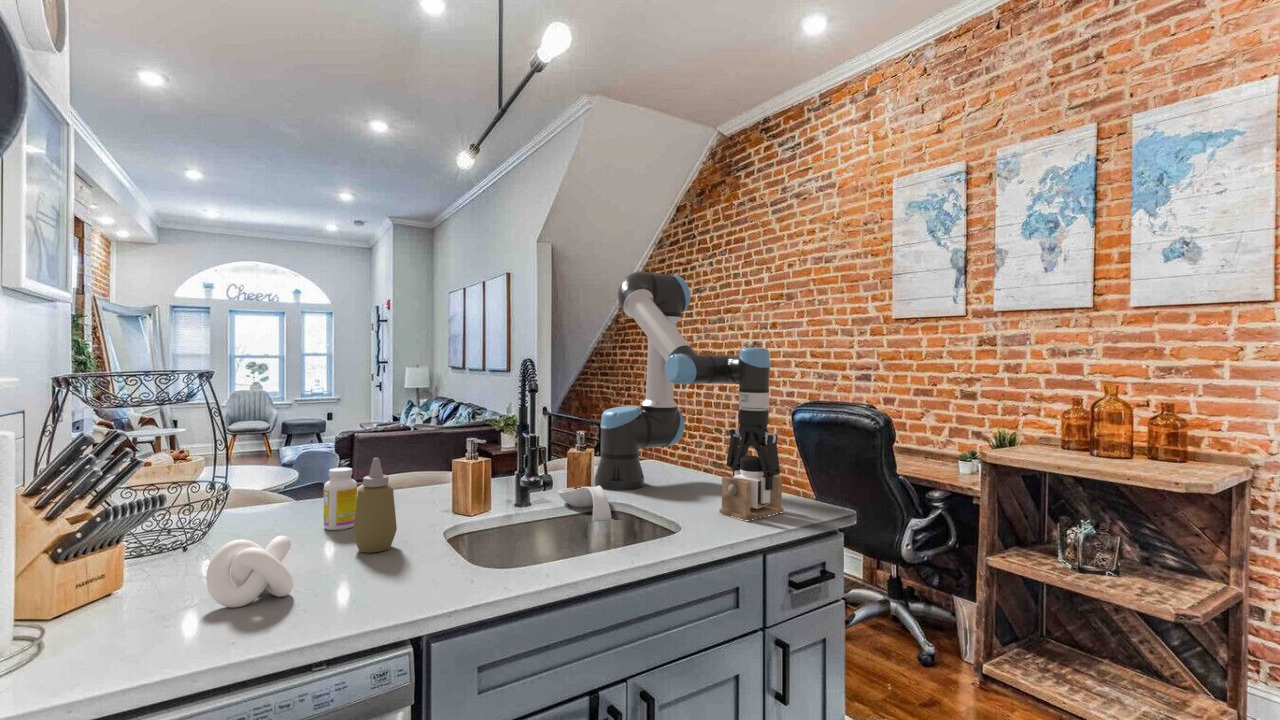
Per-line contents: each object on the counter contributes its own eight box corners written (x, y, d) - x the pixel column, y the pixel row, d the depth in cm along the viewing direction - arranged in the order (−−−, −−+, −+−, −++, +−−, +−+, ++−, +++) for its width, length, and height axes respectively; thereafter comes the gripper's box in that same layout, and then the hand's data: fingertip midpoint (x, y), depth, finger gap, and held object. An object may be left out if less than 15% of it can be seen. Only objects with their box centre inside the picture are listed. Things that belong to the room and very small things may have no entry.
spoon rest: (553, 501, 160) (553, 474, 160) (594, 497, 165) (595, 471, 165) (579, 524, 139) (580, 494, 139) (626, 520, 143) (627, 490, 143)
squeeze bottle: (380, 557, 114) (381, 463, 114) (343, 553, 115) (344, 460, 115) (405, 544, 122) (406, 456, 121) (369, 541, 123) (371, 454, 123)
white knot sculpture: (239, 582, 100) (239, 529, 100) (314, 581, 101) (314, 529, 101) (195, 612, 89) (196, 552, 89) (280, 610, 90) (280, 551, 90)
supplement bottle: (362, 523, 136) (363, 467, 136) (345, 531, 129) (346, 472, 129) (335, 521, 136) (335, 465, 136) (316, 530, 130) (317, 471, 130)
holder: (717, 513, 149) (718, 477, 149) (757, 505, 159) (757, 470, 158) (745, 522, 142) (746, 483, 142) (784, 512, 152) (785, 476, 151)
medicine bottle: (758, 509, 145) (759, 460, 145) (732, 504, 150) (733, 456, 150) (770, 503, 151) (771, 456, 151) (745, 499, 155) (746, 453, 155)
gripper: (713, 406, 156) (711, 493, 156) (777, 413, 140) (775, 510, 140) (732, 405, 161) (731, 489, 161) (797, 411, 144) (795, 505, 145)
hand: (751, 498), depth 150 cm, fingers closed on medicine bottle, 8 cm apart
